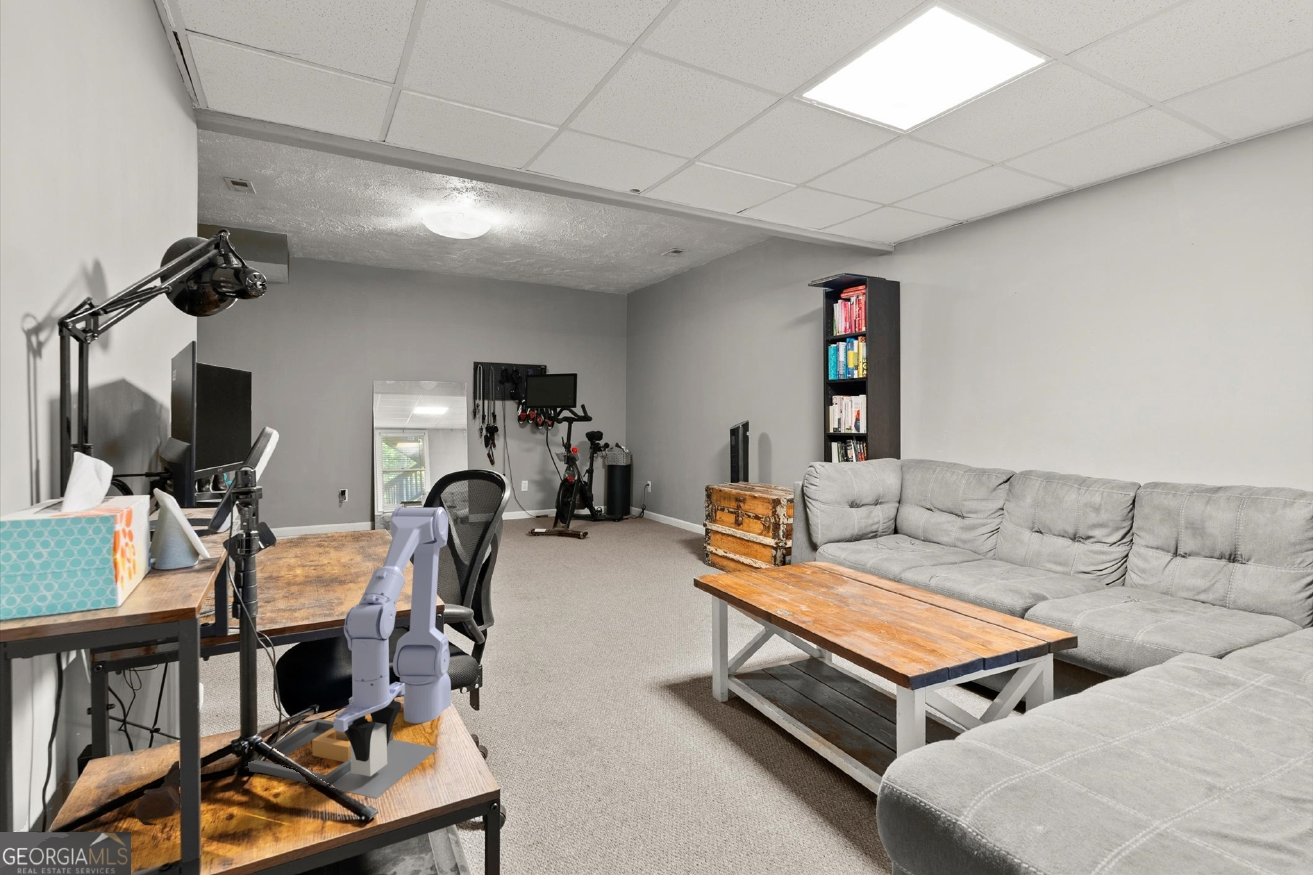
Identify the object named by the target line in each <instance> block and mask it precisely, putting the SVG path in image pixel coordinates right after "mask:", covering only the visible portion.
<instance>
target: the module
mask: <svg viewBox="0 0 1313 875" xmlns="http://www.w3.org/2000/svg"><path fill="white" fill-rule="evenodd" d="M350 751H351V773H355V774H360V775H366V776H372V775H373V774H374V773H376V772H377V771H378V770H380V769H381V768H382V767H384V766H385V765H386V764H387V734H386V724H382V723H376V722H375V725H374V728H373V731H372V735H371V740H370V755H369V759H368V760H367V761H366V762H364V761H359V760H356V758H355V754H354V751H353V748H352V745H351V743H350Z"/></svg>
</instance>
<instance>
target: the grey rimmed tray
mask: <svg viewBox="0 0 1313 875" xmlns="http://www.w3.org/2000/svg"><path fill="white" fill-rule="evenodd" d="M392 740H394V733H393V732H392V731H391V734H390V738H389V742H391V741H392ZM311 741H312V742H311ZM309 742H311V745H312V746H311V747H312V756H313V757H318V758H323V759H327V760H332V761H338V762H342V763H341V764H340V765H338V766H336V767H335V768H334V769H332V770H331V771H329V772H327V774H323V773H319V772H313V771H310V772H311V773H312V774H314V775H315V776H317V778H319V779H322V781H325V782H326V783H329V784H330V785H331V783H333V782H334V781H335V780H337V779H338V778H340V777H341V776H342V775H344V774H345V773H347V772H348V771H349V770H351V751H350V741H348V742H347V741H342V740H337V739H336V731H335V730H334V720H332V721H331V720H327V719H323V718H322V719H320V718H316V719H314V720H313V721H311V722H309V723H308V724H305V725H304V726H302V727H301V728H298V729H297V730H295V731H293V732H292V733H290V734H288V735H286V736H285V737H283V738H281V739H279V740H278V741H276V742H274V743H273V744H271V745H270V746H272V747H274V748H275V749H277V751H279V752H281V753H283V754H285V757H286V756H288V755H290V754H291V753H292V752H295V751H296V750H298V749H299V748H302V747H303V746H304V745H306V744H308V743H309ZM389 742H388V743H389ZM281 765H282V764H276V763H273V762H270V761H268V760H265V761H259V760H254V761H251V762H248V768H249V771H248V772H251V773H256V774H258V773H261V774H266V775H270V776H274V777H278V778H282V779H288V780H291V781H292V780H293V781H297V782H302V783H306V784H310V783H308V781H306V779H305V778H304V777H303V776H302V775H301V774H300V773H299V772H296V771H295V770H293V769H289V768H286V767H283V766H284V765H282V766H281Z"/></svg>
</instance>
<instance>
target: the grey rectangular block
mask: <svg viewBox="0 0 1313 875" xmlns="http://www.w3.org/2000/svg"><path fill="white" fill-rule="evenodd" d="M344 710H345V708H344V709H342V710H341V711H339V712H338V713H336V714H335V717H337V716H338V715H340V714H341V713H342V712H343V711H344ZM336 739H337V740H342V741H347V742H348V741H349V739H348V737H347V735H346V734H345V733H344V732H341V731H336Z"/></svg>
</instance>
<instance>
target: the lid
mask: <svg viewBox="0 0 1313 875" xmlns="http://www.w3.org/2000/svg"><path fill="white" fill-rule="evenodd" d="M437 750H439V747H437V746H436V747H435V746H429V745H424V744H419V743H414V742H408V741H405V740H398V739H393V740H392V741H390V742H389V743H388V746H387V764H386V765H385V766H384V767H382V768H381V769H380V770H378V771H377V772H376V773H374V774H373V775H372V776H366V775H360V774H355V773H351V770H349V771H348V772H347V773H345V774H344V775H342V776H341V777H340V778H338V779H337V780H335V781H334V782H333V783H331V784H330V785H333V786H334V787H335V788H337V789H338V790H337V791H340V790H341V792H345V793H350V794H353V795H359V796H363V797H367V798H372V799H376V800H377V799H379V797H381V795H383V794H384V793H385V792H386V791H388V790H389V789H391V788H392V787H393V786H394V785H395V784H397V782H399V781H400V780H402V779H403V778H405V777H406V776H407V775H408V774H409V773H410V772H411V771H413V770H414V769H415V768H417V767H418V766H419V765H420V764H421V763H422V762H423V761H425V760H427V758H428V757H429V756H431V755H432V754H434V753H435V752H436V751H437Z"/></svg>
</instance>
